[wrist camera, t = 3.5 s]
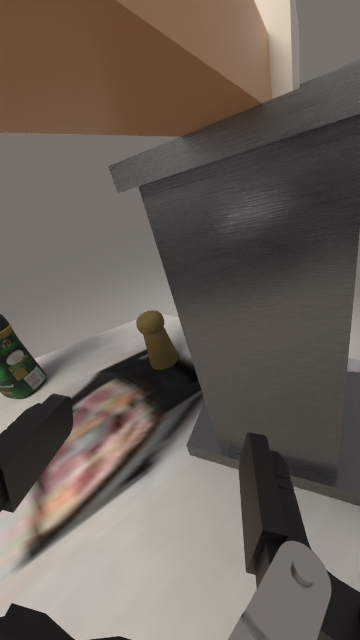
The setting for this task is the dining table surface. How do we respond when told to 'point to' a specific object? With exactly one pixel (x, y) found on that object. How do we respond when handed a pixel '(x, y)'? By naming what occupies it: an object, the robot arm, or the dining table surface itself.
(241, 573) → the dining table surface
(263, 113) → the dark gray pedestal stand
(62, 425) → the robot arm
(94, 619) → the dining table surface
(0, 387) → the coffee jar
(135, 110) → the orange rectangular block
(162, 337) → the cork
